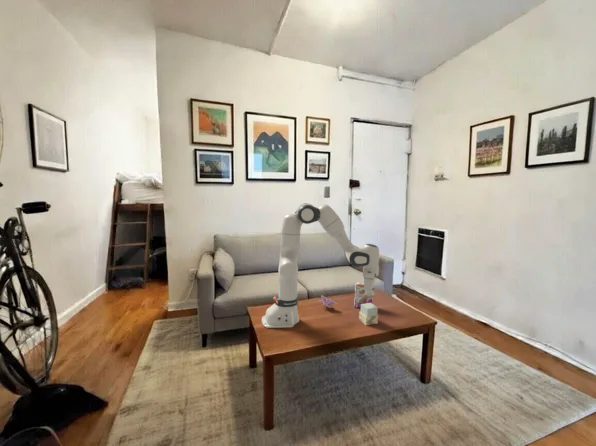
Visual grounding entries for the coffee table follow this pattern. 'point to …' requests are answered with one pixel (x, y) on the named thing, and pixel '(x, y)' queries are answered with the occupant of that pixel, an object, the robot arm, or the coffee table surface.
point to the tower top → (369, 309)
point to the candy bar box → (360, 295)
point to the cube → (371, 294)
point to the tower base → (368, 319)
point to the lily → (327, 301)
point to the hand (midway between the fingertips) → (369, 293)
